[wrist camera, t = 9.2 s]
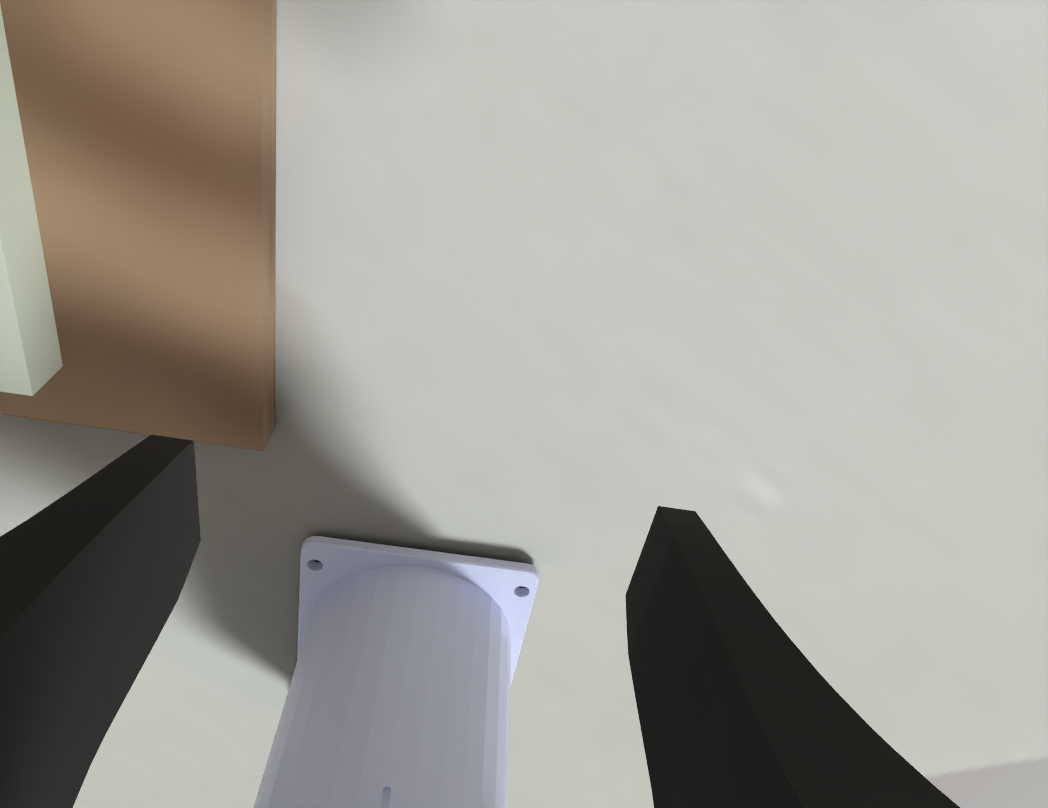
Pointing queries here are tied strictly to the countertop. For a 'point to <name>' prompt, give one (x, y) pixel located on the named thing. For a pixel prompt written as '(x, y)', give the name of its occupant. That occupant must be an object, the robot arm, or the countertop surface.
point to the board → (153, 211)
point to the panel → (21, 259)
